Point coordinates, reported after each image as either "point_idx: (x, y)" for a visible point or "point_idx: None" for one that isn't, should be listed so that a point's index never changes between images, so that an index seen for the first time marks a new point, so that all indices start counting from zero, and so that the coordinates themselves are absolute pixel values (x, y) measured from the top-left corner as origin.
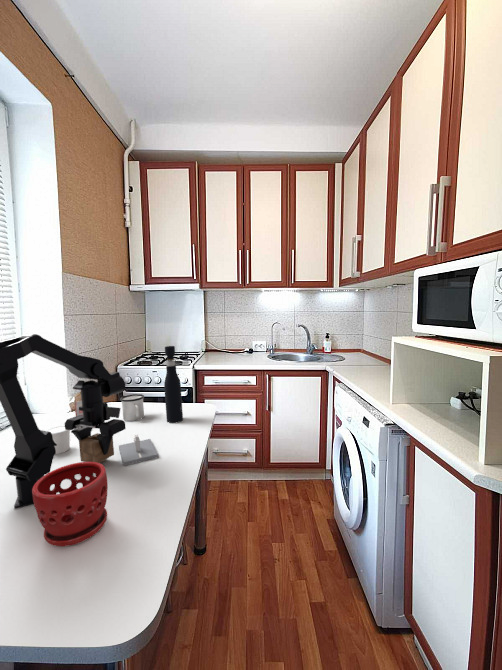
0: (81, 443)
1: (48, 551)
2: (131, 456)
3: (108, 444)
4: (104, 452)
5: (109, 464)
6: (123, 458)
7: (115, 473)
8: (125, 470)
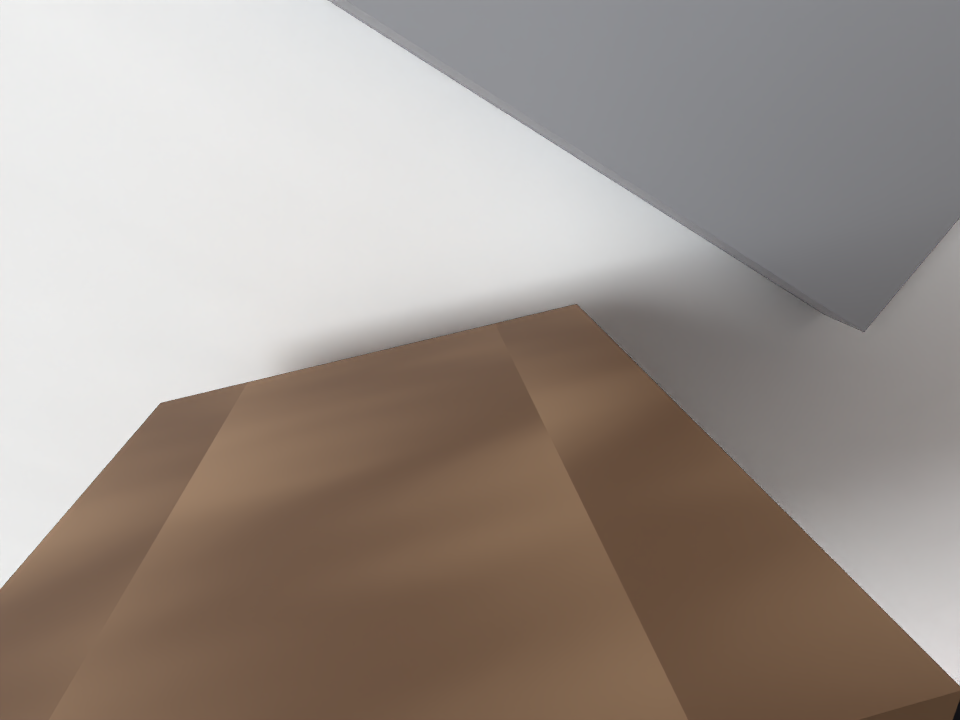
0: None
1: None
2: (870, 114)
3: None
4: None
5: None
6: (779, 248)
7: (854, 459)
8: (927, 364)
